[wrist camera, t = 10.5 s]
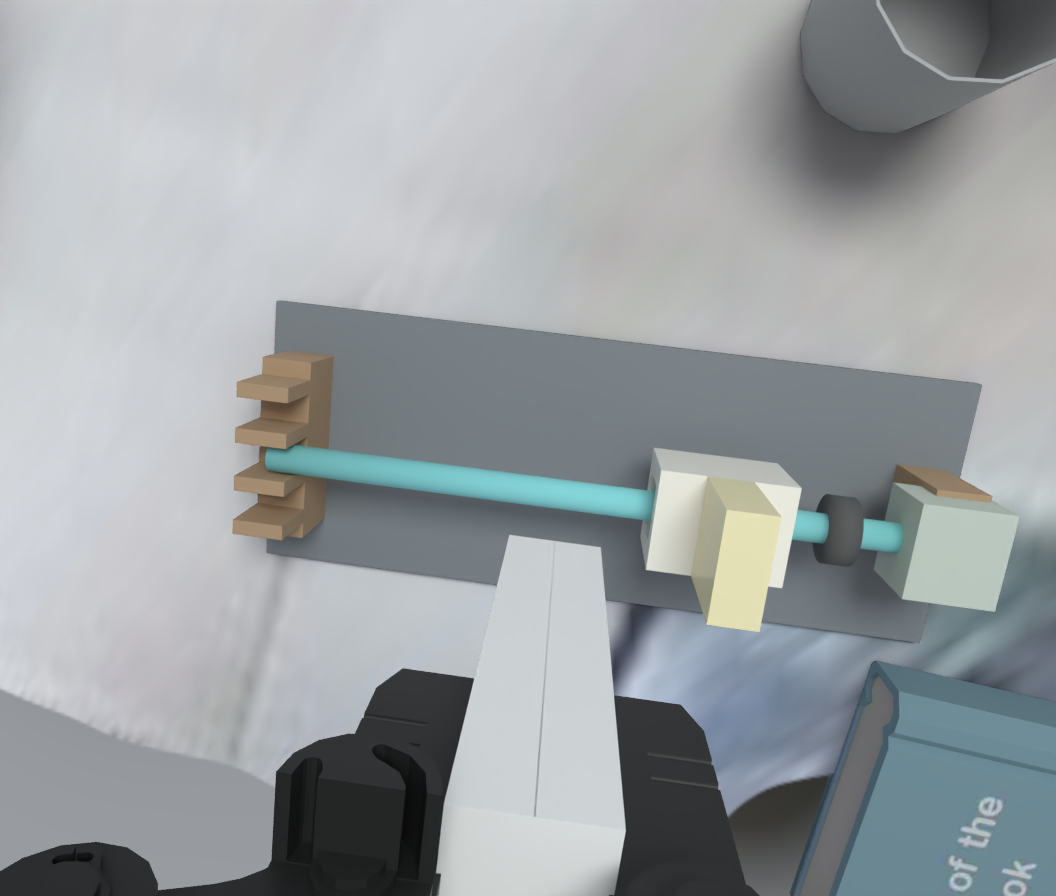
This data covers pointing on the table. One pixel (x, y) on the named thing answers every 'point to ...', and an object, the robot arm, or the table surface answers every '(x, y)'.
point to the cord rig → (610, 461)
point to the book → (937, 794)
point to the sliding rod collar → (721, 530)
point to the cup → (919, 55)
